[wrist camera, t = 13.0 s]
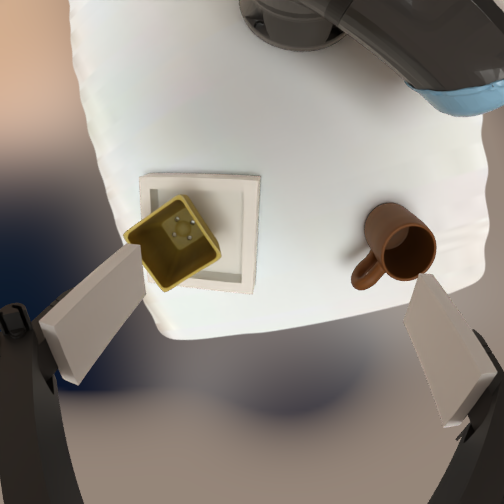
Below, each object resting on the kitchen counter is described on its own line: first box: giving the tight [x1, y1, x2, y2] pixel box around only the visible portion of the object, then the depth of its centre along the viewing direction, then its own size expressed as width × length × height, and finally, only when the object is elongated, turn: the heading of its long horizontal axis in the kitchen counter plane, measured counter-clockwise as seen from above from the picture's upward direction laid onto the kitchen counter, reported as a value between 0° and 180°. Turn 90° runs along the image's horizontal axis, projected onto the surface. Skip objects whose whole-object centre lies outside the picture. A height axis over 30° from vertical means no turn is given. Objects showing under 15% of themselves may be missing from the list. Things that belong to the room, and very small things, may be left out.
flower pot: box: [123, 194, 222, 292], centre depth 38 cm, size 9×9×9 cm
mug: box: [351, 203, 436, 290], centre depth 36 cm, size 12×8×9 cm, turn 134°
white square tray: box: [139, 173, 261, 294], centre depth 42 cm, size 16×16×4 cm
